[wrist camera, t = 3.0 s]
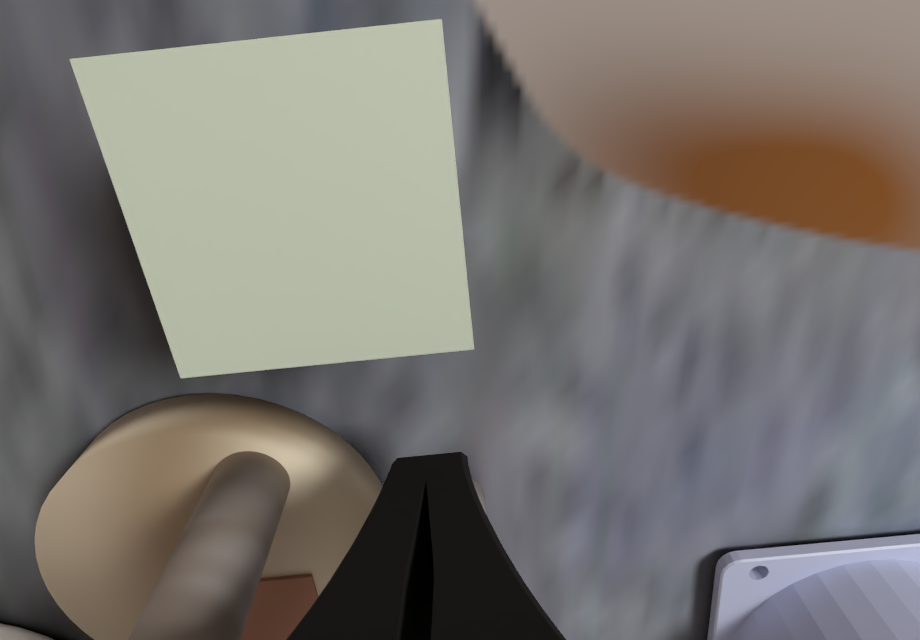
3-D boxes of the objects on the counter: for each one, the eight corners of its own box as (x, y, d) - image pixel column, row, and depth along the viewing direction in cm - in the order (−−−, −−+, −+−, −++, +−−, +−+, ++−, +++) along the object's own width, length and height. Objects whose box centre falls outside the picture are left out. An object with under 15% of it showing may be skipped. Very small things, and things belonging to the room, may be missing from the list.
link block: (441, 22, 11) (441, 19, 6) (462, 234, 13) (474, 349, 8) (221, 46, 11) (69, 58, 6) (272, 254, 13) (179, 378, 8)
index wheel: (365, 377, 14) (322, 576, 9) (411, 618, 17) (399, 858, 12) (17, 412, 14) (-220, 626, 9) (133, 644, 17) (10, 891, 12)
